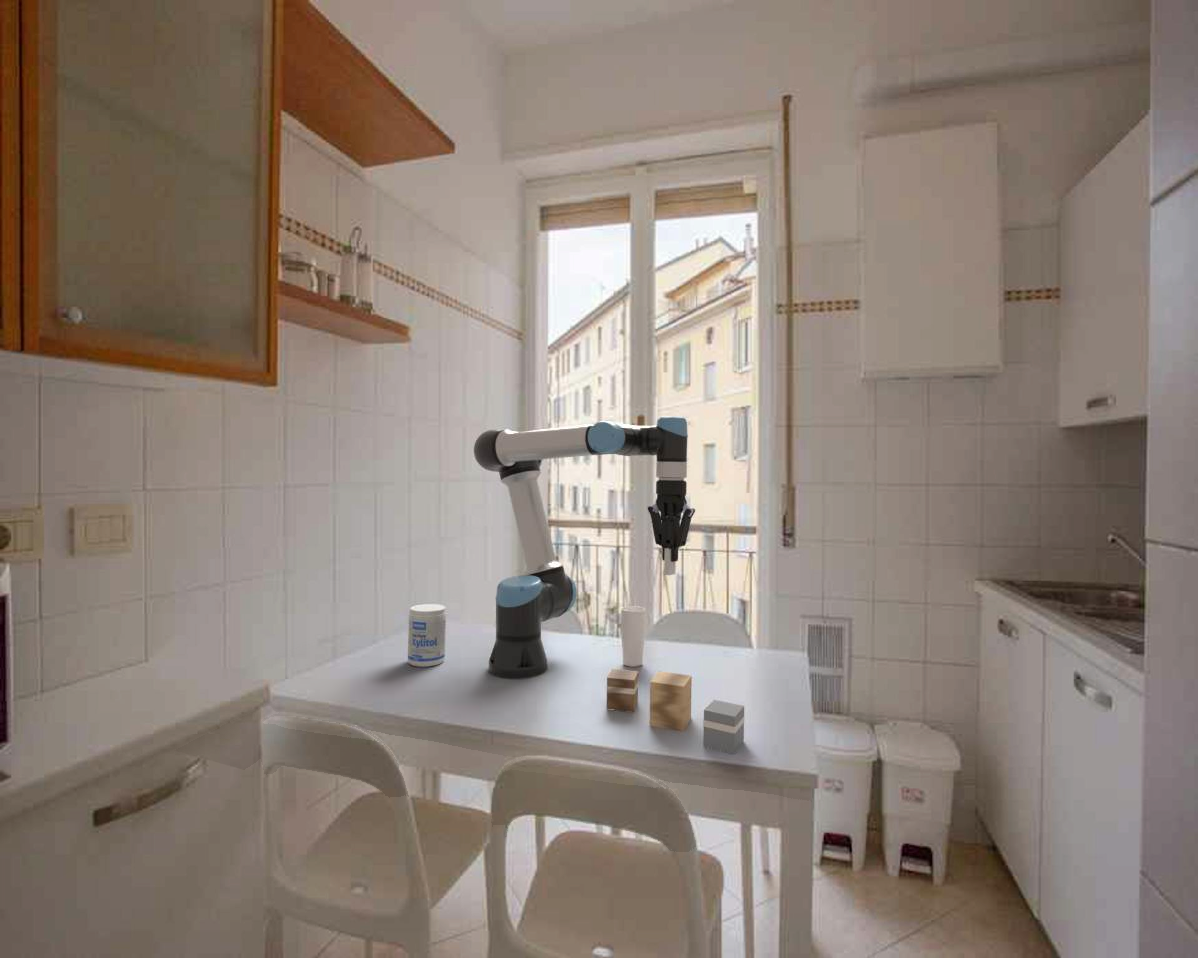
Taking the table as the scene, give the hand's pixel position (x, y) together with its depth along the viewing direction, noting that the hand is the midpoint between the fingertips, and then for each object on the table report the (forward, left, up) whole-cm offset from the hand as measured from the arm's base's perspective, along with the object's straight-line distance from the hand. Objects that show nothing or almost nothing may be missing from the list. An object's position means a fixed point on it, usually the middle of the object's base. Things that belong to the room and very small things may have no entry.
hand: (669, 574), depth 149 cm
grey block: (+19, -30, -27) cm, 44 cm away
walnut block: (-5, -20, -27) cm, 34 cm away
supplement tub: (-63, -13, -27) cm, 70 cm away
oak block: (+7, -24, -27) cm, 36 cm away
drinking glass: (-12, +8, -27) cm, 30 cm away
